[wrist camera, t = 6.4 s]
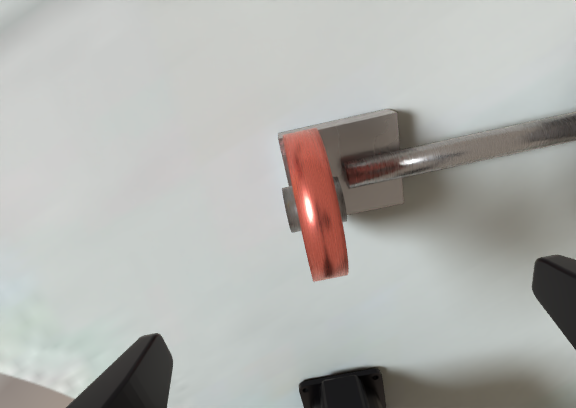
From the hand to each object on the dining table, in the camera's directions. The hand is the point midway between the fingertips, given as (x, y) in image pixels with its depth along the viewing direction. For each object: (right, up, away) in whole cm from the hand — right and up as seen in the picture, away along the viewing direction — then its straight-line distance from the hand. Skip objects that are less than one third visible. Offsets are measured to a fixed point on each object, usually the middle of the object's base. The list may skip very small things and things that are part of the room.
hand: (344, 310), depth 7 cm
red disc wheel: (+7, +6, +10) cm, 14 cm away
